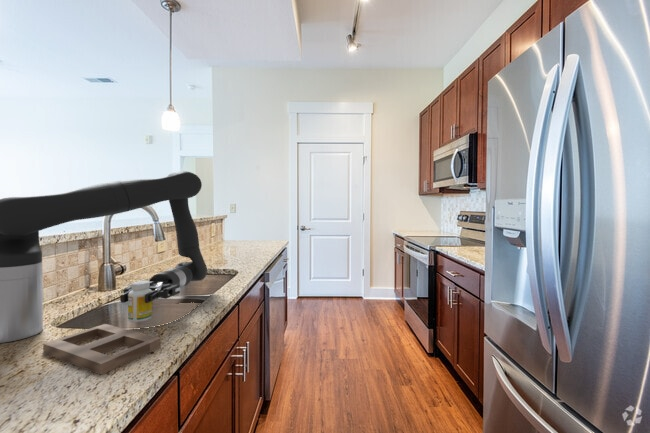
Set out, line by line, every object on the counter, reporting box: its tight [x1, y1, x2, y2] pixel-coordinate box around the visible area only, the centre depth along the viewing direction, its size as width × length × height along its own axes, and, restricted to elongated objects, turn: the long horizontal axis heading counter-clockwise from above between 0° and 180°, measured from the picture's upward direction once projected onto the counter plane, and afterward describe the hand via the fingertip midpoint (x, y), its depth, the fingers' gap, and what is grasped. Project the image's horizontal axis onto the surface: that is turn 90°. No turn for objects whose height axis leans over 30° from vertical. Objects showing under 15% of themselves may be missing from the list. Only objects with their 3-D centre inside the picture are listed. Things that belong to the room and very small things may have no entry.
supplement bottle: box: [127, 280, 153, 323], centre depth 76 cm, size 5×5×10 cm
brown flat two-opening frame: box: [42, 323, 162, 376], centre depth 64 cm, size 20×12×2 cm, turn 67°
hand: (134, 298), depth 74 cm, fingers closed on supplement bottle, 5 cm apart
